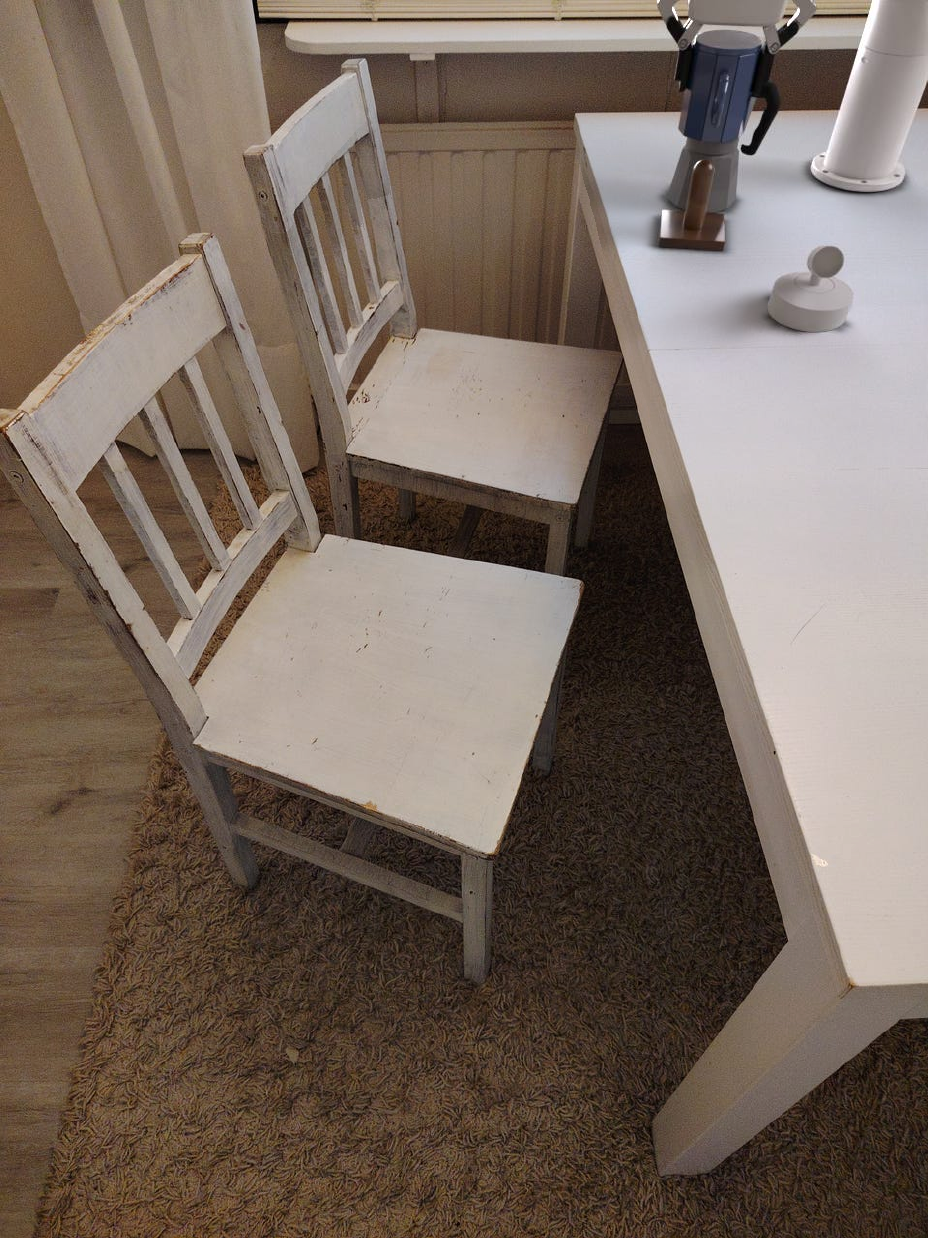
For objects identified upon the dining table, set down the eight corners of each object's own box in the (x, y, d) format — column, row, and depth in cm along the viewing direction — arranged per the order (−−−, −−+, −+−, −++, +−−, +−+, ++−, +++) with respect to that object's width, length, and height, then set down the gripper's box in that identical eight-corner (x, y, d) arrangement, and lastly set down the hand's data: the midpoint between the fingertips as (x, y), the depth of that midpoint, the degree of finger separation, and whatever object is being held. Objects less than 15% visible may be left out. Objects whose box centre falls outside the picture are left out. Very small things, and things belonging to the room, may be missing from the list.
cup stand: (660, 218, 106) (673, 145, 99) (722, 222, 105) (738, 148, 98) (658, 246, 101) (671, 171, 94) (723, 250, 100) (740, 175, 93)
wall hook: (787, 245, 81) (795, 204, 87) (762, 331, 88) (771, 287, 94) (877, 257, 79) (878, 214, 85) (843, 343, 86) (847, 298, 92)
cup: (678, 117, 96) (694, 28, 89) (741, 121, 95) (762, 30, 88) (677, 146, 91) (693, 53, 84) (744, 150, 90) (766, 56, 83)
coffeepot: (642, 192, 111) (665, 38, 98) (689, 174, 115) (718, 23, 101) (725, 232, 103) (763, 70, 89) (773, 211, 107) (817, 53, 93)
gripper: (850, -125, 78) (794, 82, 92) (671, -128, 80) (642, 75, 94) (859, -111, 73) (800, 105, 87) (669, -115, 76) (639, 97, 89)
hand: (718, 88), depth 90 cm, fingers closed on cup, 7 cm apart
